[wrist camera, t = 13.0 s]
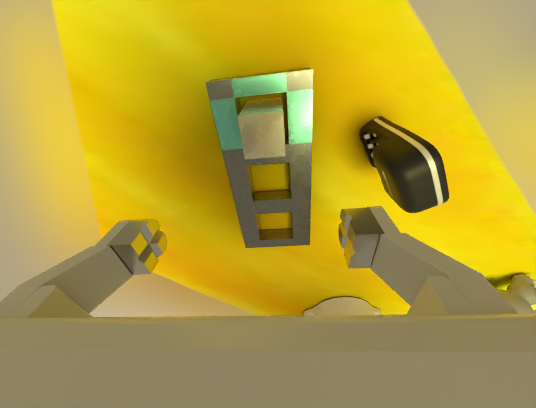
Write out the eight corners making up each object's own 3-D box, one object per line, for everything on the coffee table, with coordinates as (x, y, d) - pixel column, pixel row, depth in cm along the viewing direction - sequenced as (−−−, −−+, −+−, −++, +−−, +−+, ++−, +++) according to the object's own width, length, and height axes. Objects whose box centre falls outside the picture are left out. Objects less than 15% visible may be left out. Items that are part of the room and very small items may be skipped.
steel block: (283, 131, 26) (285, 156, 20) (252, 134, 27) (244, 159, 20) (281, 97, 24) (283, 112, 18) (247, 100, 24) (237, 116, 18)
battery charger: (349, 129, 26) (390, 170, 17) (380, 112, 25) (443, 146, 15) (367, 172, 29) (409, 225, 20) (395, 158, 28) (454, 209, 19)
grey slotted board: (307, 234, 37) (309, 245, 35) (247, 237, 38) (245, 248, 36) (309, 68, 22) (313, 69, 20) (211, 80, 23) (205, 82, 21)
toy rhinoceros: (506, 274, 46) (566, 305, 38) (463, 308, 46) (514, 345, 38) (504, 256, 42) (570, 286, 35) (458, 293, 43) (514, 331, 35)
